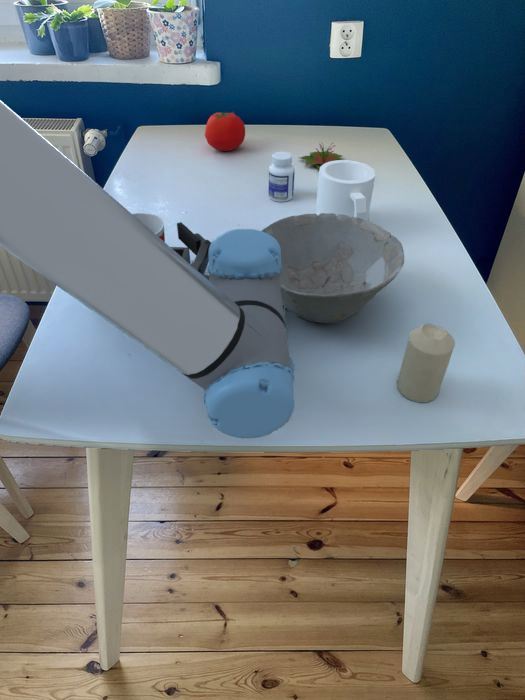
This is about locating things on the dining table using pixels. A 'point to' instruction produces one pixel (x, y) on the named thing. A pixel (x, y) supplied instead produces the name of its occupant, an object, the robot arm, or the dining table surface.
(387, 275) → the ceramic bowl
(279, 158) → the pill bottle
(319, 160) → the lily flower
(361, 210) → the mug
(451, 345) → the candle
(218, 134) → the tomato
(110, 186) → the dining table surface
